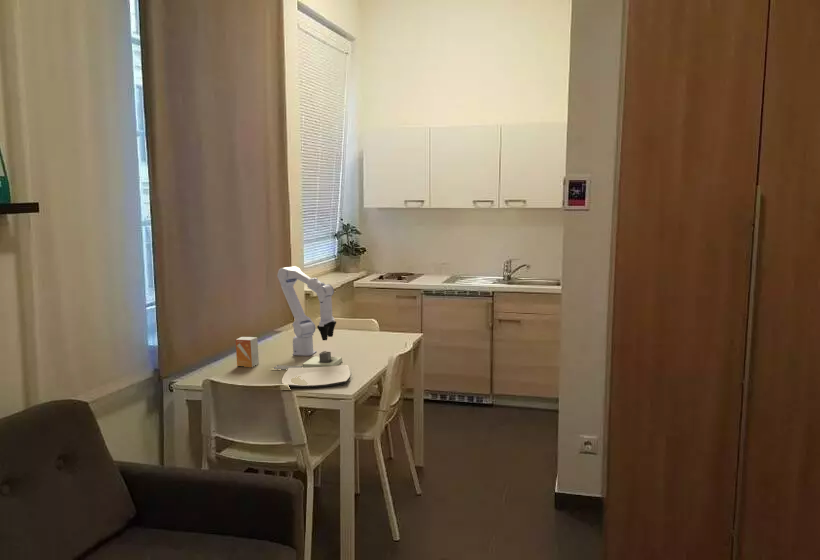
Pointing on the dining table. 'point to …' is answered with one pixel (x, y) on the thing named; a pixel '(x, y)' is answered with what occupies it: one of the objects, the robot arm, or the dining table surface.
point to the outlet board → (316, 363)
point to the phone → (286, 367)
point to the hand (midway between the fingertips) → (327, 338)
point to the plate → (318, 376)
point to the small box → (247, 351)
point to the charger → (325, 357)
